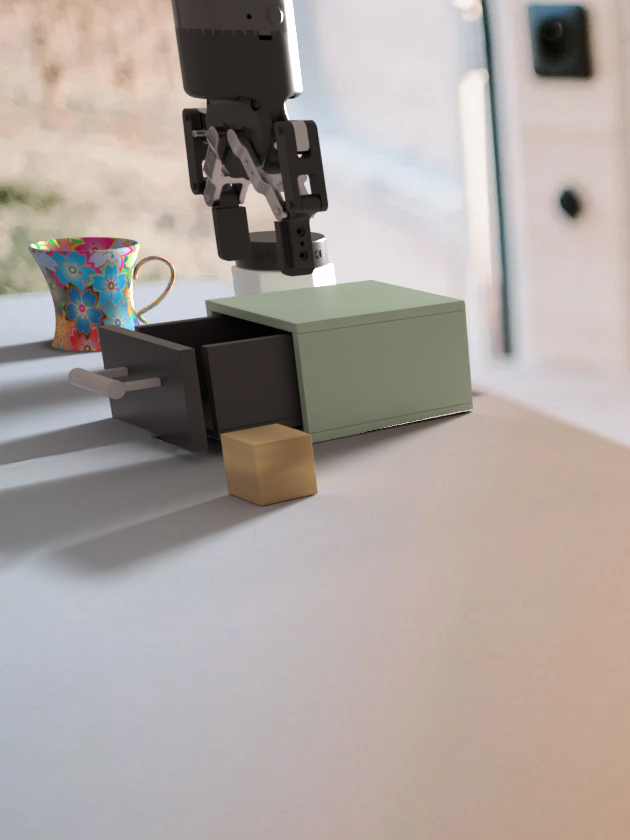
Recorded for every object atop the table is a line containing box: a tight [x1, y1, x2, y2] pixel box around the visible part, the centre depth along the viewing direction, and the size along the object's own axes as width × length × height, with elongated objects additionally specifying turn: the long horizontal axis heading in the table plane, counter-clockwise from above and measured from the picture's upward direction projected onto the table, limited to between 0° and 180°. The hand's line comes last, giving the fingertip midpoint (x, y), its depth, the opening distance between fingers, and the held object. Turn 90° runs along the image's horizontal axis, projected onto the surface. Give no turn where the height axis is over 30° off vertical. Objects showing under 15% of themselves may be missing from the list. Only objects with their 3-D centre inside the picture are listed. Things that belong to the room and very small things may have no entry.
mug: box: [27, 236, 176, 352], centre depth 153 cm, size 12×9×11 cm
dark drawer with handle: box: [67, 314, 303, 454], centre depth 128 cm, size 19×12×8 cm, turn 142°
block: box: [220, 424, 319, 507], centre depth 115 cm, size 4×4×4 cm
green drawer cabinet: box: [204, 279, 474, 444], centre depth 136 cm, size 16×14×10 cm
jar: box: [230, 230, 337, 297], centre depth 152 cm, size 9×8×12 cm
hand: (266, 267), depth 114 cm, fingers open, 8 cm apart
